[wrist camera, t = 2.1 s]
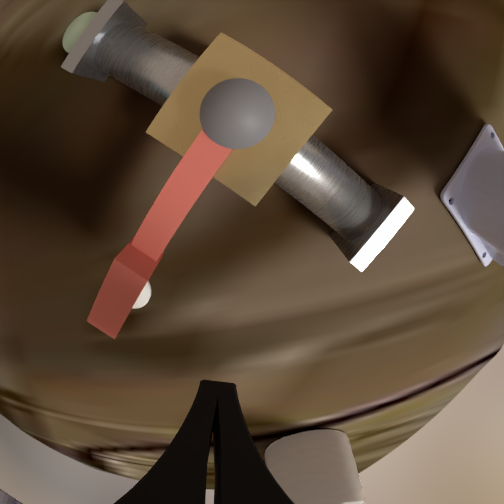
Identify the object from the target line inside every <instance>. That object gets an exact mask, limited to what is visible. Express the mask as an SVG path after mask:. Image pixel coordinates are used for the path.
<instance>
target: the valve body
mask: <svg viewBox="0 0 504 504" xmlns="http://www.w3.org/2000/svg"><path fill="white" fill-rule="evenodd" d="M145 26H146V22H145V21H144V20H143V19H142V18H141V17H140V16H139V15H138V14H137V13H136V12H135V11H134V10H133V9H132V8H130V7H129V6H128V5H127V4H126V3H125V2H124V1H122V0H107V2H106V3H105V4H104V5H103V6H102V8H101V9H100V10H99V11H98V13H97V14H96V15H95V17H94V18H93V19H92V21H91V22H90V23H89V25H88V26H87V27H86V29H85V30H84V32H83V33H82V34H81V36H80V37H79V39H78V40H77V42H76V43H75V45H74V46H73V48H72V49H71V51H70V53H69V54H68V56H67V57H66V59H65V61H64V62H63V64H62V66H61V68H63V69H65V70H67V71H69V72H71V73H73V74H77V75H81V76H85V77H88V78H92V79H96V80H99V81H103V82H105V81H106V79H107V78H108V76H111V77H113V78H115V79H116V80H118V81H120V82H122V83H123V84H125V85H127V86H129V87H130V88H132V89H134V90H136V91H137V92H139V93H141V94H142V95H144V96H146V97H147V98H149V99H151V100H152V101H154V102H156V103H157V104H159V105H161V106H162V108H161V109H160V111H159V112H158V114H157V115H156V117H155V118H154V120H153V121H152V123H151V124H150V126H149V127H148V129H147V131H146V133H148V134H149V135H151V136H152V137H154V138H155V139H157V140H158V141H160V142H161V143H163V144H165V145H166V146H168V147H169V148H171V149H172V150H174V151H175V152H177V153H178V154H180V155H181V156H183V157H184V155H185V154H186V152H187V151H188V149H189V148H190V146H191V145H192V143H193V142H194V141H195V139H196V138H197V136H198V135H199V133H200V132H201V131H202V129H203V128H202V125H201V122H200V106H201V103H202V100H203V98H204V97H205V95H206V94H207V92H208V91H209V90H210V89H211V88H212V87H213V86H215V85H216V84H218V83H220V82H222V81H224V80H227V79H232V78H243V79H248V80H252V81H254V82H256V83H258V84H259V85H261V86H262V87H263V88H264V89H265V90H266V91H267V92H268V93H269V95H270V96H271V98H272V100H273V103H274V107H275V119H274V123H273V126H272V128H271V130H270V132H269V133H268V135H267V136H266V137H265V138H264V139H263V140H262V141H260V142H259V143H257V144H256V145H253V146H251V147H248V148H244V149H233V150H232V151H231V152H230V154H229V155H228V157H227V158H226V159H225V161H224V162H223V163H222V165H221V166H220V167H219V169H218V170H217V172H216V173H215V174H214V176H213V177H214V178H215V179H217V180H218V181H220V182H221V183H222V184H224V185H225V186H227V187H228V188H230V189H231V190H233V191H234V192H235V193H237V194H238V195H240V196H241V197H243V198H244V199H245V200H247V201H248V202H250V203H251V204H252V205H254V206H256V205H257V204H258V203H259V201H260V200H261V199H262V197H263V196H264V195H265V194H266V192H267V191H268V190H269V188H270V187H271V186H272V185H273V183H275V184H277V185H278V186H279V187H281V188H282V189H283V190H285V191H286V192H287V193H288V194H290V195H291V196H292V197H294V198H295V199H296V200H298V201H299V202H300V203H301V204H303V205H304V206H305V207H307V208H308V209H309V210H310V211H312V212H313V213H314V214H315V215H317V216H318V217H319V218H320V219H322V220H323V221H324V222H325V223H326V224H328V225H329V226H330V227H331V228H333V229H334V231H333V232H332V234H331V235H330V237H331V238H332V240H333V241H334V242H335V244H336V245H337V246H338V248H339V249H340V250H341V251H342V253H343V254H344V255H345V257H346V258H347V259H348V261H349V262H350V263H351V264H352V265H354V266H355V267H356V268H357V269H359V270H360V271H361V272H362V271H363V270H364V269H365V268H366V267H367V266H368V265H369V264H370V262H371V261H372V260H373V259H374V258H375V257H376V256H377V254H378V253H379V252H380V251H381V250H382V249H383V248H384V247H385V246H386V245H387V244H388V243H389V242H390V241H391V239H392V238H393V236H394V235H395V233H396V232H397V231H398V229H399V228H400V227H401V226H402V224H403V223H404V222H405V221H406V219H407V218H408V217H409V216H410V214H411V213H412V212H413V210H414V207H413V206H412V205H411V204H410V203H409V202H408V200H407V199H406V198H405V197H404V196H402V195H400V194H398V193H396V192H394V191H391V190H389V189H387V188H385V187H383V186H380V185H378V184H376V183H374V182H373V184H372V185H371V186H369V185H368V184H367V183H366V182H365V181H364V180H363V179H362V178H361V177H360V176H359V175H358V174H357V173H356V172H354V171H353V170H352V169H351V168H350V167H349V166H348V165H347V164H346V163H345V162H344V161H342V160H341V159H340V158H339V157H338V156H337V155H336V154H334V153H333V152H332V151H331V150H330V149H329V148H328V147H326V146H325V145H324V144H323V143H322V142H320V141H319V140H318V139H317V138H316V137H314V136H313V135H312V134H313V133H314V132H315V131H316V129H317V128H318V127H319V126H320V125H321V123H322V122H323V121H324V120H325V118H326V117H327V116H328V115H329V114H330V112H331V111H332V109H331V108H330V107H329V106H327V105H326V104H325V103H324V102H323V101H321V100H320V99H319V98H318V97H316V96H315V95H314V94H313V93H311V92H310V91H309V90H308V89H306V88H305V87H304V86H302V85H301V84H300V83H298V82H297V81H296V80H294V79H293V78H292V77H290V76H289V75H288V74H286V73H285V72H283V71H282V70H281V69H279V68H278V67H276V66H275V65H273V64H272V63H270V62H269V61H267V60H266V59H264V58H263V57H261V56H260V55H258V54H257V53H255V52H254V51H252V50H250V49H249V48H247V47H246V46H244V45H242V44H241V43H239V42H237V41H236V40H234V39H232V38H230V37H229V36H227V35H225V34H223V33H222V32H221V33H220V34H219V35H218V36H217V37H216V39H215V40H214V41H213V42H212V43H211V44H210V45H209V47H208V48H207V49H206V50H205V51H204V52H203V54H202V55H201V56H200V57H199V56H197V55H195V54H193V53H192V52H190V51H188V50H186V49H184V48H182V47H181V46H179V45H177V44H175V43H173V42H171V41H169V40H167V39H165V38H163V37H161V36H159V35H157V34H155V33H153V32H151V31H149V30H146V29H144V27H145Z"/></svg>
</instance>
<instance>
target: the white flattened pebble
mask: <svg viewBox="0 0 504 504" xmlns="http://www.w3.org/2000/svg"><path fill="white" fill-rule="evenodd" d="M150 297H151V285H150V283H149V281H148V282H147V283H146V285H145V287H144V288H143V290H142V292H141V293H140V295H139V297H138V299H137V300H136V302H135V304H134V305H133V307H132V308H140V307H143V306H144V305H146V304H147V302H148V301H149V299H150Z"/></svg>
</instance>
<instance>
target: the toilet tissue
mask: <svg viewBox="0 0 504 504" xmlns="http://www.w3.org/2000/svg"><path fill="white" fill-rule="evenodd" d="M265 464H266V466H267V468H268V469H269V471H270V472H271V474H272V475H273V477H274V478H275V480H276V481H277V482H278V484H279V485H280V486H281V488H282V489H283V490H284V492H285V493H286V494H287V495H288V497H289V498H290V499H291V500H292V501H293V502H294V503H295V504H365V498H364V496H363V492H362V486H361V483H360V479H359V475H358V472H357V467H356V463H355V459H354V456H353V454H352V450H351V445H350V443H349V439H348V436H347V435H346V434H345V433H343V432H341V431H337V430H329V429H324V430H311V431H306V432H300V433H297V434H293V435H290V436H286V437H283V438H281V439H279V440H276V441H275V442H273V443H271V444H270V445H269V446H268V447H267V449H266V450H265Z"/></svg>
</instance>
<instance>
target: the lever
mask: <svg viewBox="0 0 504 504" xmlns="http://www.w3.org/2000/svg"><path fill="white" fill-rule="evenodd" d="M274 119H275V107H274V103H273V100H272V98H271V96H270V95H269V93H268V92H267V91H266V90H265V89H264V88H263V87H262V86H261V85H259V84H258V83H256V82H254V81H252V80H248V79H243V78H232V79H227V80H224V81H222V82H220V83H218V84H216V85H215V86H213V87H212V88H211V89H210V90H209V91H208V92H207V94H206V95H205V97H204V98H203V100H202V103H201V106H200V122H201V125H202V128H203V129H202V131H201V132H200V133H199V135H198V136H197V138H196V139H195V141H194V142H193V143H192V145H191V146H190V148H189V149H188V151H187V152H186V154H185V155H184V157H183V158H182V160H181V161H180V163H179V164H178V166H177V167H176V169H175V170H174V172H173V173H172V175H171V176H170V178H169V179H168V181H167V183H166V184H165V186H164V187H163V189H162V191H161V192H160V194H159V196H158V197H157V199H156V200H155V202H154V204H153V205H152V207H151V209H150V211H149V212H148V214H147V216H146V217H145V219H144V221H143V223H142V224H141V226H140V228H139V230H138V232H137V233H136V235H135V237H134V238H133V239H132V240H131V241H130V242H129V243H128V244H127V246H126V247H125V248H124V249H123V250H122V251H121V252H120V253H119V254H118V255H117V256H116V258H115V259H114V261H113V263H112V265H111V267H110V269H109V271H108V273H107V275H106V278H105V280H104V282H103V284H102V286H101V289H100V291H99V293H98V295H97V298H96V300H95V302H94V305H93V307H92V310H91V312H90V314H89V317H88V319H87V322H89V323H90V324H92V325H93V326H95V327H96V328H98V329H99V330H101V331H103V332H104V333H106V334H107V335H109V336H110V337H112V338H114V339H115V338H116V336H117V334H118V332H119V330H120V329H121V327H122V325H123V323H124V321H125V320H126V318H127V316H128V314H129V312H130V311H131V309H132V307H133V305H134V304H135V302H136V300H137V299H138V297H139V295H140V293H141V292H142V290H143V288H144V287H145V285H146V283H147V282H148V280H149V278H150V276H151V275H152V273H153V271H154V270H155V268H156V266H157V265H158V263H159V261H160V260H161V258H162V256H163V255H164V253H162V252H163V251H164V249H165V247H166V246H167V244H168V243H169V241H170V240H171V238H172V236H173V235H174V233H175V232H176V230H177V229H178V227H179V226H180V224H181V223H182V221H183V219H184V218H185V216H186V215H187V213H188V212H189V210H190V209H191V207H192V206H193V205H194V203H195V202H196V200H197V199H198V197H199V196H200V194H201V193H202V191H203V190H204V189H205V187H206V186H207V184H208V183H209V181H210V180H211V179H212V177H213V176H214V174H215V173H216V172H217V170H218V169H219V167H220V166H221V165H222V163H223V162H224V161H225V159H226V158H227V157H228V155H229V154H230V152H231V151H232V150H233V149H244V148H248V147H251V146H253V145H256V144H257V143H259V142H260V141H262V140H263V139H264V138H265V137H266V136H267V135H268V133H269V132H270V130H271V128H272V126H273V123H274Z"/></svg>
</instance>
